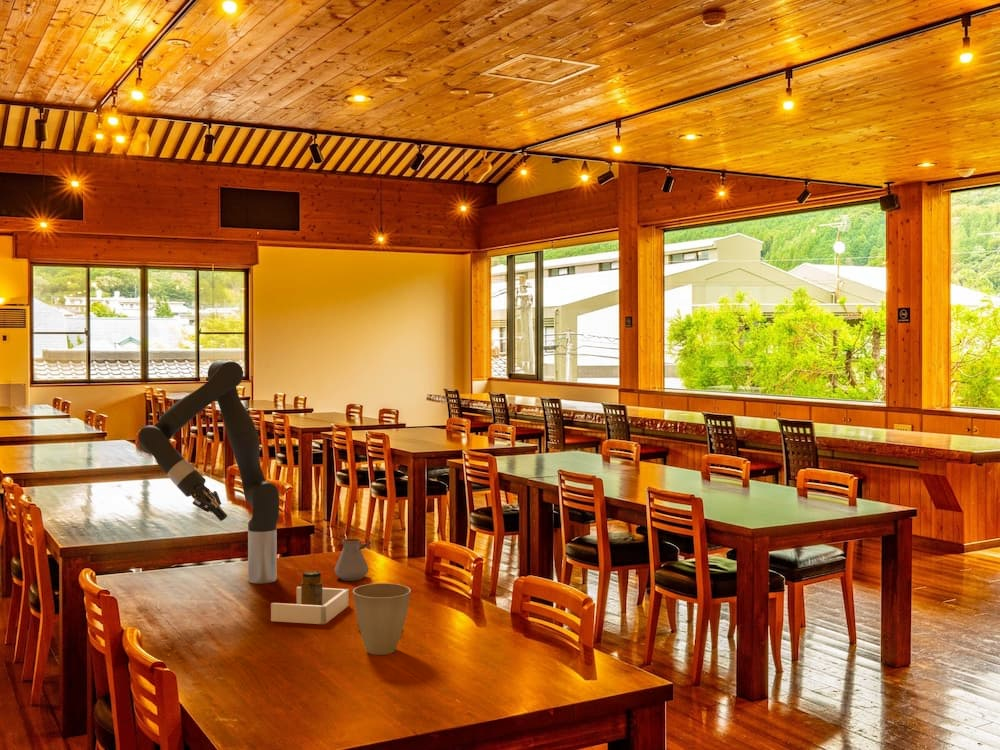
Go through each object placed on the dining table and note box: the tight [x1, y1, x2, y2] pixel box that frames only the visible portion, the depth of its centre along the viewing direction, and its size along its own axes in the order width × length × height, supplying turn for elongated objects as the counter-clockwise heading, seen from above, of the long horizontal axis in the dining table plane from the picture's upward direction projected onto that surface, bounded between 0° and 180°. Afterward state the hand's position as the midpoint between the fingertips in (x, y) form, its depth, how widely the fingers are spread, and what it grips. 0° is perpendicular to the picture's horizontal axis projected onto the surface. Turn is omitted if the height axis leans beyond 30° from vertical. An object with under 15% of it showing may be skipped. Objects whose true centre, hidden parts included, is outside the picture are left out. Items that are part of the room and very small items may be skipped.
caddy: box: [270, 586, 350, 625], centre depth 295 cm, size 20×16×5 cm
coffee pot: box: [334, 538, 374, 582], centre depth 334 cm, size 21×12×15 cm, turn 31°
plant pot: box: [352, 582, 411, 656], centre depth 260 cm, size 15×15×16 cm
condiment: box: [300, 570, 323, 606], centre depth 294 cm, size 7×8×12 cm
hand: (224, 518), depth 306 cm, fingers closed
